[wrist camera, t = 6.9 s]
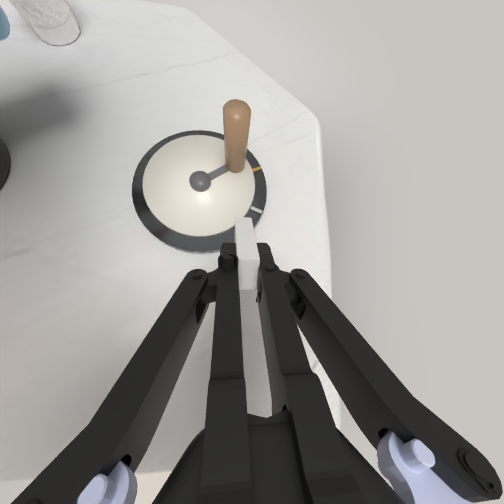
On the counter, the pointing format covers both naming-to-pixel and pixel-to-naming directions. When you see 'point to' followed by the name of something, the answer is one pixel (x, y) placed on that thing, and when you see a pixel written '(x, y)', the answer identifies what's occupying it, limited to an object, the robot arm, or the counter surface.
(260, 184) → the dial base
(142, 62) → the counter surface
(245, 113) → the dial
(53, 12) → the white cup
